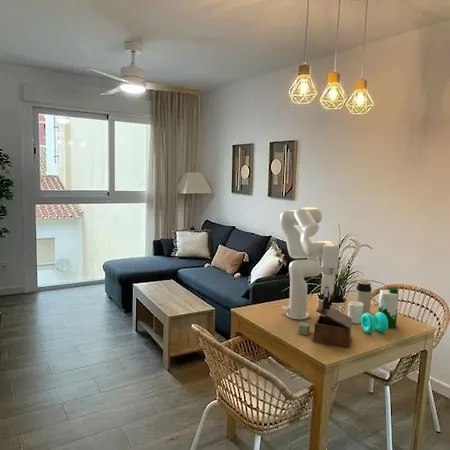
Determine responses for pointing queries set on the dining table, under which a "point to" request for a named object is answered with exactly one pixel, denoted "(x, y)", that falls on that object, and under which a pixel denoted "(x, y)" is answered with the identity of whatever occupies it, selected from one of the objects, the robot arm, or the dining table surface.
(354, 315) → the white cup
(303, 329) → the block
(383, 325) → the turquoise yo-yo
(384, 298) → the milk carton
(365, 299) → the travel mug
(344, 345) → the chest
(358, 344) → the dining table surface
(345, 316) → the lid
